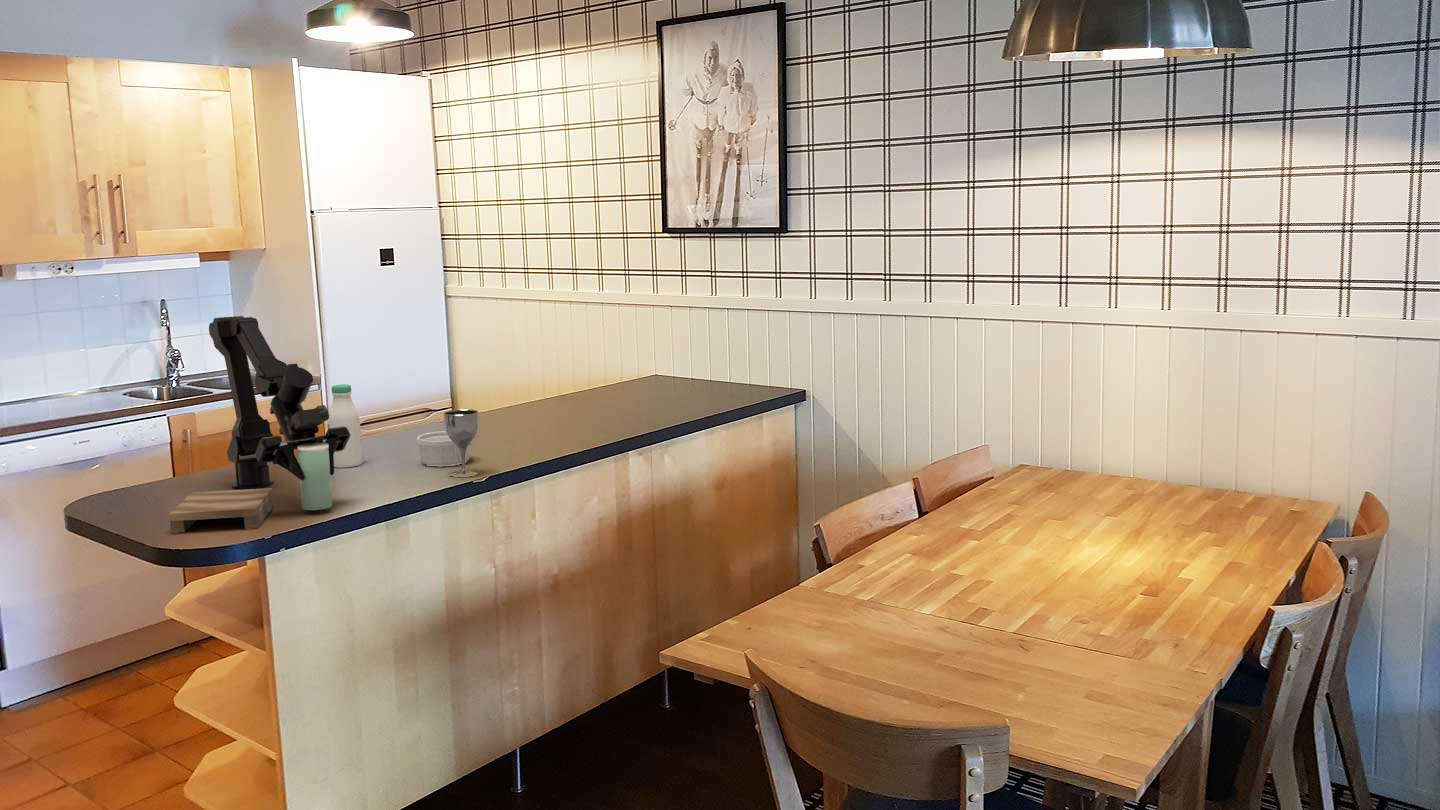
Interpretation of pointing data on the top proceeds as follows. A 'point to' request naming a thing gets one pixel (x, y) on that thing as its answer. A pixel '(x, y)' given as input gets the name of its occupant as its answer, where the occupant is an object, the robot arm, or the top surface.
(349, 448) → the milk bottle
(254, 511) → the wooden pallet
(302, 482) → the tumbler
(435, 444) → the ramekin
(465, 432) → the wine glass
